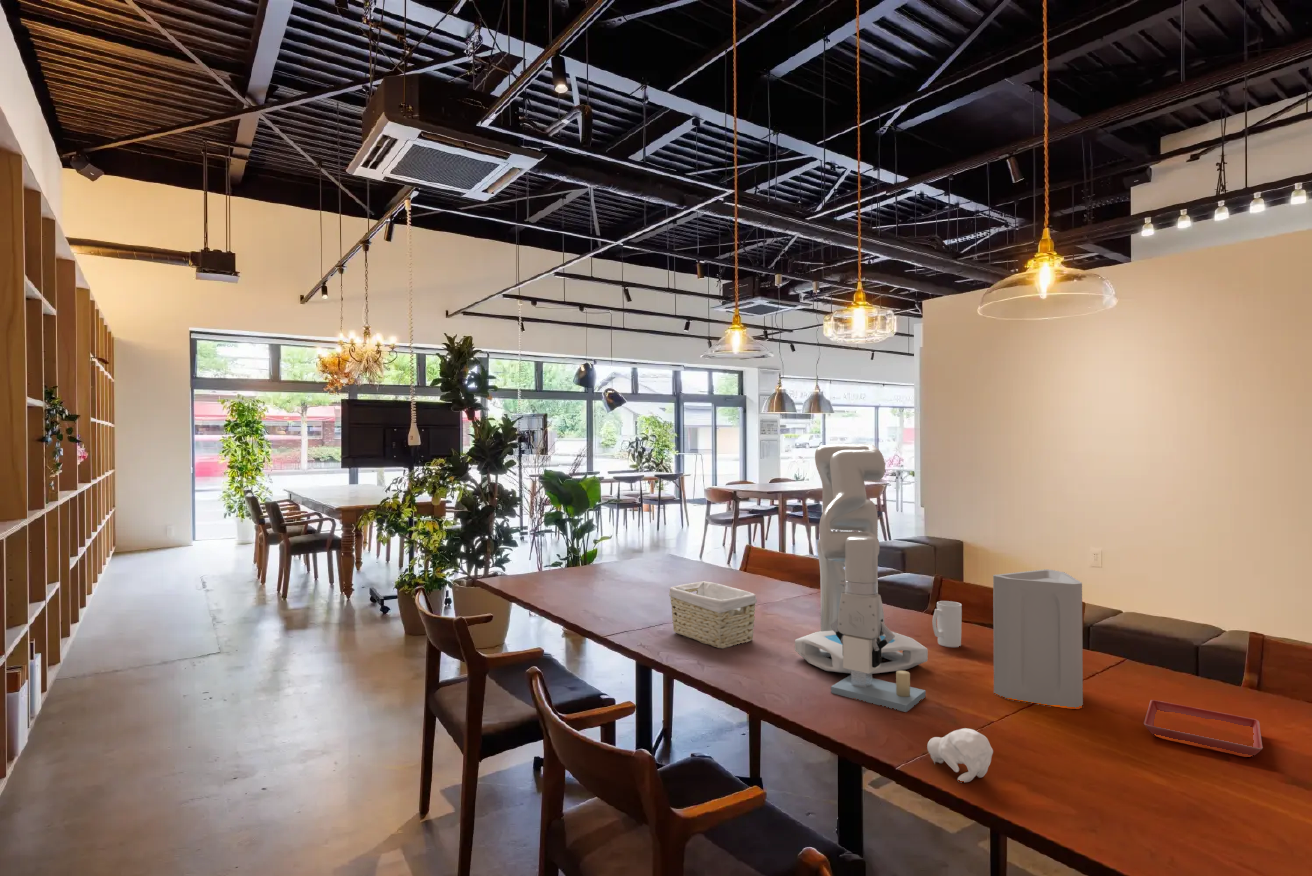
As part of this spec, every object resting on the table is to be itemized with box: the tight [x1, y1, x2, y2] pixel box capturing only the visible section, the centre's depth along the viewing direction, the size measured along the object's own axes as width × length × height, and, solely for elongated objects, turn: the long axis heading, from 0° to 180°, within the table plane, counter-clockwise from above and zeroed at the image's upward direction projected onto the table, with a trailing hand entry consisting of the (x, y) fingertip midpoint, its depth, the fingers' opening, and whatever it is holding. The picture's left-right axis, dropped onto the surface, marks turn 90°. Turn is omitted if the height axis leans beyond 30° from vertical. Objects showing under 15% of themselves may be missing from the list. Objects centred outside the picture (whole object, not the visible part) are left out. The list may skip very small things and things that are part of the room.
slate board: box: [830, 670, 927, 713], centre depth 161 cm, size 12×18×6 cm, turn 49°
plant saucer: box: [1143, 699, 1264, 756], centre depth 139 cm, size 18×18×3 cm
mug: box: [931, 600, 963, 648], centre depth 201 cm, size 10×7×12 cm, turn 116°
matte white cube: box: [843, 635, 880, 673], centre depth 164 cm, size 6×6×8 cm
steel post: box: [850, 670, 873, 688], centre depth 164 cm, size 4×4×8 cm
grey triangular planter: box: [992, 569, 1084, 708], centre depth 159 cm, size 19×15×28 cm
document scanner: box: [794, 630, 929, 675], centre depth 184 cm, size 21×28×6 cm
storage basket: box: [668, 580, 758, 650], centre depth 209 cm, size 24×16×15 cm
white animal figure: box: [926, 727, 994, 783], centre depth 124 cm, size 6×8×12 cm
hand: (861, 662), depth 164 cm, fingers closed on matte white cube, 6 cm apart
